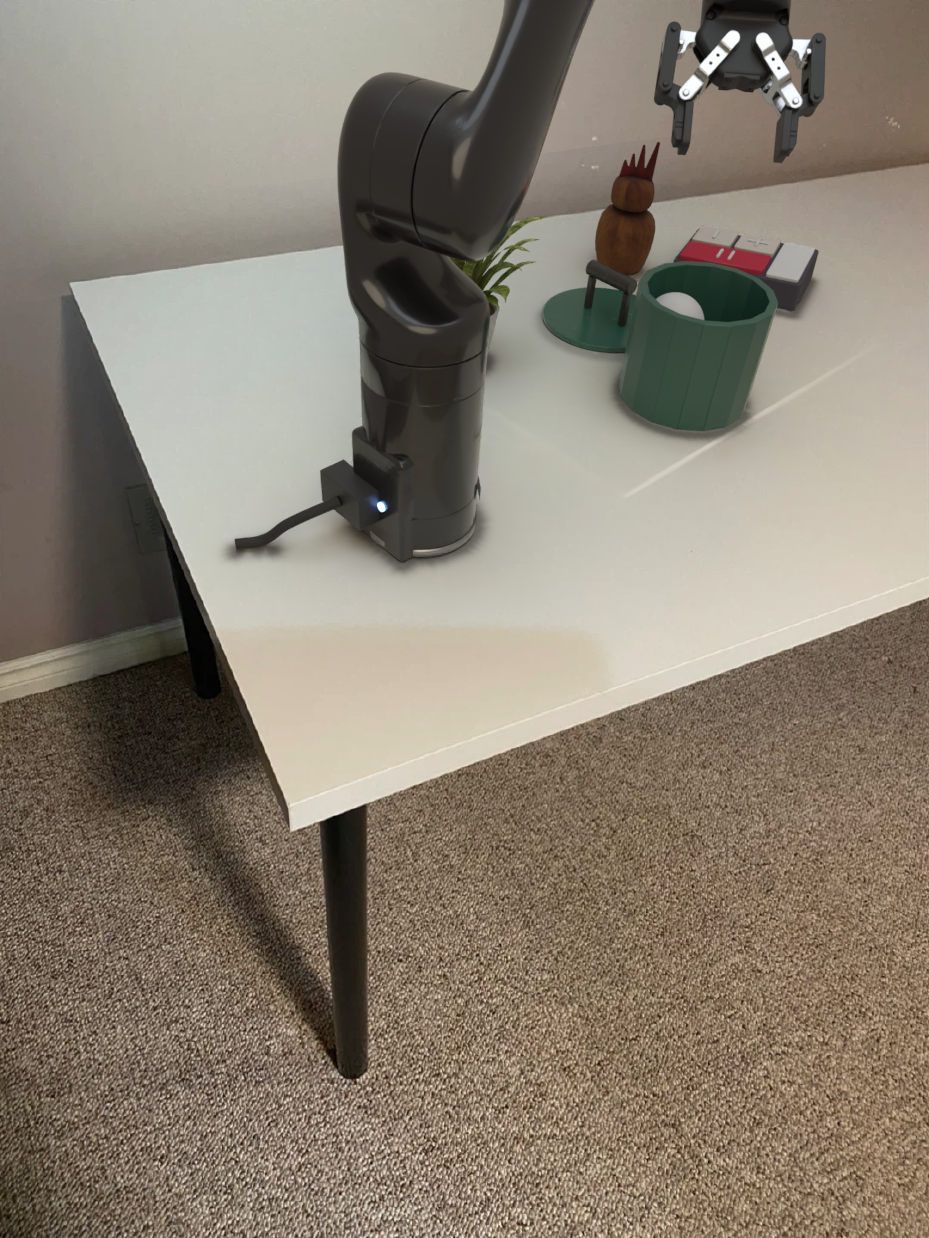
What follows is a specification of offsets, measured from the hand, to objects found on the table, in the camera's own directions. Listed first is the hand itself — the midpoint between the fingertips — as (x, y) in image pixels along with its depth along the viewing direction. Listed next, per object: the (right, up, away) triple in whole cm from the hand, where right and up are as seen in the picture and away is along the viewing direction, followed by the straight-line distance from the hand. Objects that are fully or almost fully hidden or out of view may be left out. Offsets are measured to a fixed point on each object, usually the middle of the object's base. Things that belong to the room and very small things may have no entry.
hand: (732, 155), depth 81 cm
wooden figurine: (-5, +2, +32) cm, 33 cm away
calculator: (+10, 0, +32) cm, 34 cm away
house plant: (-23, -14, +15) cm, 31 cm away
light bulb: (-2, -18, +12) cm, 22 cm away
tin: (-2, -19, +12) cm, 22 cm away
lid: (-8, -8, +22) cm, 24 cm away
